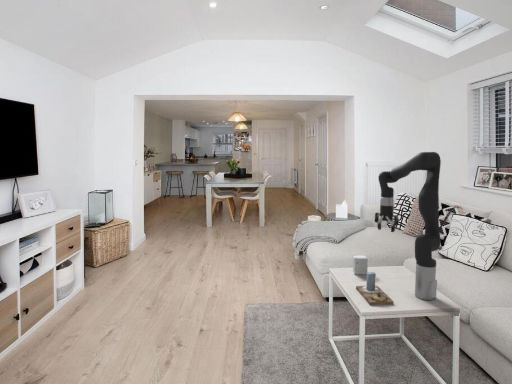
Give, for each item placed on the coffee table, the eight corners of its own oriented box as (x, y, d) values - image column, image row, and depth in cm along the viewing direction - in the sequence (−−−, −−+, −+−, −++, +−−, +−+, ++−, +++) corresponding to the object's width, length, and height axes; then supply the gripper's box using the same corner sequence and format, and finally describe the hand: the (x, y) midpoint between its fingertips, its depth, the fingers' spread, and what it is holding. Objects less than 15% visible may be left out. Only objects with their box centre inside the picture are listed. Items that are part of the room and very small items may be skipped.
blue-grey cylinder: (375, 289, 178) (376, 273, 177) (373, 291, 175) (374, 275, 174) (367, 287, 181) (368, 271, 180) (365, 289, 177) (366, 273, 176)
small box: (365, 271, 210) (365, 255, 209) (367, 274, 205) (368, 258, 204) (352, 271, 211) (353, 255, 210) (354, 274, 206) (354, 258, 204)
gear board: (393, 304, 164) (393, 295, 163) (369, 304, 163) (370, 295, 163) (377, 288, 184) (377, 280, 183) (356, 288, 183) (356, 280, 183)
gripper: (372, 203, 202) (372, 229, 204) (394, 206, 191) (393, 233, 192) (379, 202, 206) (378, 228, 208) (401, 205, 195) (400, 231, 197)
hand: (386, 230), depth 200 cm, fingers open, 8 cm apart
